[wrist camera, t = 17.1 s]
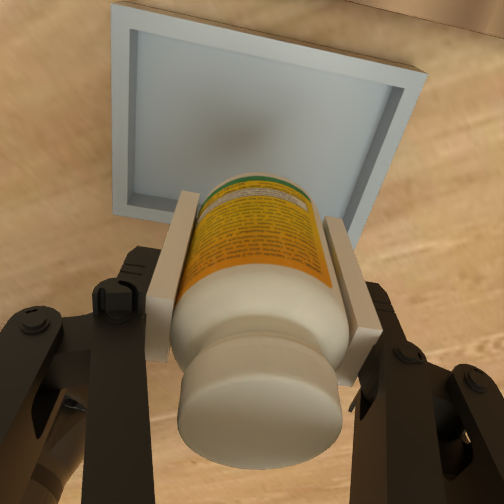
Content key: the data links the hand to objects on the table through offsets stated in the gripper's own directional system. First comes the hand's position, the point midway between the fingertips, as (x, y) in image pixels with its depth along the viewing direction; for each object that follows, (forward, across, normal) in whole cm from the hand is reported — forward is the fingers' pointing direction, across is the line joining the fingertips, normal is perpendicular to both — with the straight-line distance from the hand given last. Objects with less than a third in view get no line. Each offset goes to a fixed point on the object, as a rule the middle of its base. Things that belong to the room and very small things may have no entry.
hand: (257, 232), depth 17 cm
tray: (+12, 0, 0) cm, 12 cm away
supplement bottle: (+1, 0, 0) cm, 1 cm away
